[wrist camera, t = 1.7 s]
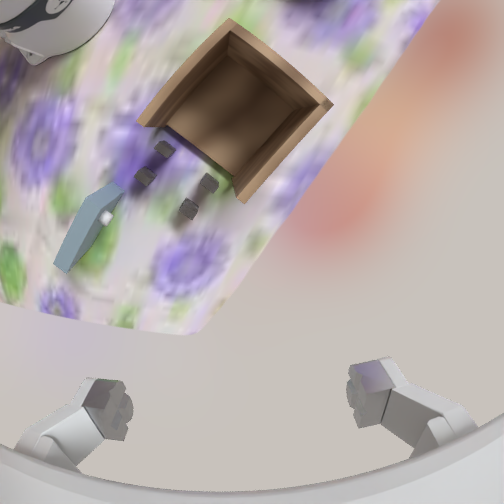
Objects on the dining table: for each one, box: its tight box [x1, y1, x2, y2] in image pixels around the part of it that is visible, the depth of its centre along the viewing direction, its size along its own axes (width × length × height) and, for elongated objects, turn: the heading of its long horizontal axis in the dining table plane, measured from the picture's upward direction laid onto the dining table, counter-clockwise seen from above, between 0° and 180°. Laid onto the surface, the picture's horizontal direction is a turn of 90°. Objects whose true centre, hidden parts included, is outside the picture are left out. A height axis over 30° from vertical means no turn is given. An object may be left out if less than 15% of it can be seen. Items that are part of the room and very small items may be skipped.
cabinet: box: [134, 18, 334, 220], centre depth 30 cm, size 13×20×11 cm, turn 139°
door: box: [53, 182, 125, 274], centre depth 33 cm, size 10×3×9 cm, turn 139°
